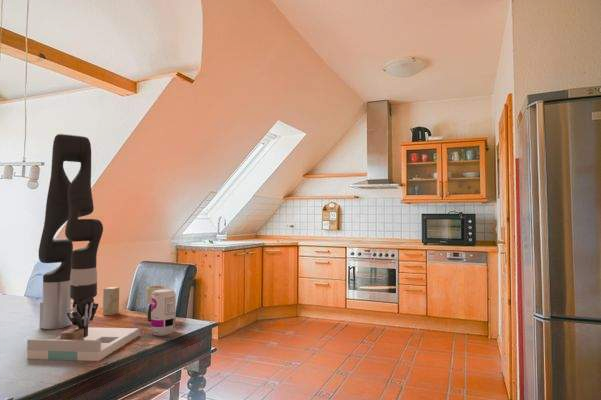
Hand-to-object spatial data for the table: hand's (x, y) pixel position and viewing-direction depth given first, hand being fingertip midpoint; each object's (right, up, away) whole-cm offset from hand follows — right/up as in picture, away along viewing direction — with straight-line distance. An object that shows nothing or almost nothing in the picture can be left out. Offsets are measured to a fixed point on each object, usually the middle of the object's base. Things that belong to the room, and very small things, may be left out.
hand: (83, 337), depth 126 cm
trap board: (0, -4, +2) cm, 4 cm away
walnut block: (-1, -1, -5) cm, 5 cm away
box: (-12, -6, +44) cm, 46 cm away
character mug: (+10, -5, +35) cm, 37 cm away
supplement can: (+20, -4, +17) cm, 26 cm away
